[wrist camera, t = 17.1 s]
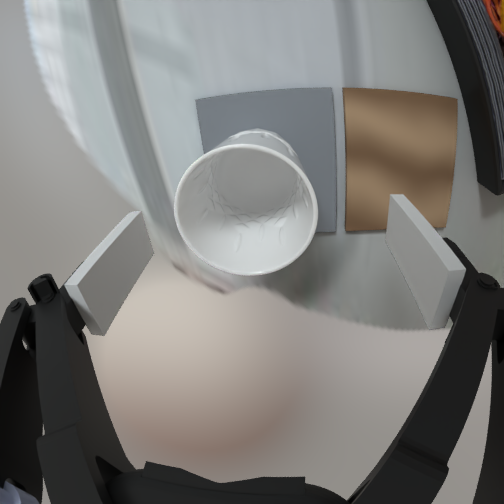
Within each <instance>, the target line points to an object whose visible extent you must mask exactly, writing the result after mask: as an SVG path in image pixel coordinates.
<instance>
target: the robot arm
mask: <svg viewBox="0 0 504 504" xmlns="http://www.w3.org/2000/svg"><path fill="white" fill-rule="evenodd" d="M385 242H386V244H387V246H388V248H389V249H390V251H391V253H392V255H393V257H394V259H395V261H396V262H397V264H398V266H399V268H400V270H401V272H402V274H403V276H404V278H405V280H406V282H407V284H408V286H409V288H410V290H411V292H412V294H413V296H414V298H415V301H416V303H417V305H418V307H419V309H420V311H421V314H422V316H423V318H424V320H425V323H426V325H427V327H428V329H429V330H433V329H439V328H445V326H446V324H447V321H448V319H449V316H450V317H451V319H452V321H453V326H452V328H451V330H450V333H449V335H448V337H447V339H446V341H445V345H444V347H443V350H442V352H441V354H440V357H439V359H438V361H437V363H436V365H435V367H434V369H433V371H432V373H431V376H430V378H429V380H428V382H427V384H426V385H425V387H424V389H423V391H422V393H421V395H420V397H419V399H418V400H417V402H416V404H415V406H414V408H413V409H412V411H411V413H410V415H409V416H408V418H407V420H406V422H405V423H404V425H403V426H402V428H401V430H400V431H399V433H398V434H397V436H396V437H395V439H394V440H393V442H392V443H391V445H390V446H389V448H388V449H387V451H386V452H385V454H384V455H383V456H382V458H381V459H380V461H379V462H378V463H377V465H376V466H375V467H374V469H373V470H372V471H371V473H370V474H369V475H368V476H367V477H366V479H365V480H364V481H363V482H362V483H361V485H360V486H359V487H358V488H357V489H356V491H355V492H354V493H353V494H352V495H351V496H350V498H349V499H348V500H347V501H346V500H345V499H344V498H342V497H341V496H339V495H338V494H336V493H334V492H332V491H330V490H327V489H325V488H322V487H319V486H316V485H311V484H306V483H305V477H260V478H254V479H248V480H242V481H235V482H227V483H217V482H213V481H211V480H208V479H205V478H203V477H200V476H198V475H195V474H193V473H190V472H188V471H186V470H183V469H181V468H176V467H170V466H165V465H161V464H156V463H152V462H147V461H146V463H145V467H144V469H137V470H136V469H135V468H134V467H133V465H132V464H131V463H130V462H129V460H128V459H127V457H126V455H125V453H124V451H123V448H122V446H121V444H120V441H119V439H118V437H117V434H116V432H115V429H114V427H113V424H112V421H111V419H110V416H109V413H108V411H107V408H106V405H105V402H104V399H103V396H102V393H101V390H100V387H99V384H98V381H97V377H96V374H95V370H94V367H93V363H92V360H91V356H90V353H89V349H88V345H87V340H86V336H85V335H84V333H83V331H82V329H83V328H84V326H85V325H86V326H87V328H88V329H89V331H90V332H91V334H93V335H102V336H104V335H105V334H106V332H107V330H108V329H109V327H110V325H111V323H112V321H113V320H114V318H115V316H116V315H117V313H118V311H119V309H120V308H121V306H122V304H123V303H124V301H125V299H126V298H127V296H128V294H129V293H130V291H131V289H132V288H133V286H134V284H135V283H136V281H137V280H138V278H139V276H140V275H141V273H142V272H143V270H144V268H145V267H146V265H147V264H148V262H149V261H150V259H151V258H152V256H153V254H154V251H153V248H152V245H151V241H150V238H149V235H148V232H147V228H146V225H145V221H144V218H143V214H142V211H135V212H130V213H129V214H128V215H127V216H126V217H125V218H124V219H123V220H122V221H121V222H120V223H119V224H118V225H117V226H116V227H115V228H114V229H113V230H112V231H111V232H110V233H109V234H108V235H107V236H106V238H105V239H104V240H103V241H102V242H101V243H100V244H99V245H98V246H97V247H96V248H95V249H94V251H93V252H92V253H91V254H90V255H89V256H88V257H87V258H86V260H85V261H83V262H82V263H81V264H80V265H79V266H78V268H77V270H75V271H74V272H73V273H72V275H71V276H70V277H69V278H68V279H67V281H66V282H65V283H64V284H63V286H62V287H61V288H60V289H58V287H57V285H56V283H55V281H54V279H53V277H52V275H51V274H43V275H41V276H39V277H37V278H35V279H34V280H33V281H32V282H31V283H30V285H29V286H28V290H29V292H30V294H31V296H32V298H33V299H34V301H35V302H36V305H31V306H29V304H28V303H27V301H26V299H25V298H18V299H15V300H14V301H12V302H11V303H10V305H9V306H8V307H7V309H6V311H5V314H4V316H3V319H2V321H1V323H0V504H41V502H42V491H43V478H44V481H45V485H46V488H47V492H48V496H49V499H50V502H51V504H431V503H432V502H433V500H434V498H435V497H436V495H437V493H438V491H439V490H440V488H441V486H442V485H443V483H444V481H445V479H446V477H447V474H448V471H449V468H448V466H447V463H448V460H449V458H450V456H451V454H452V452H453V450H454V448H455V446H456V443H457V441H458V439H459V437H460V434H461V432H462V430H463V428H464V425H465V423H466V420H467V418H468V415H469V413H470V410H471V408H472V405H473V402H474V399H475V396H476V393H477V391H478V387H479V384H480V381H481V378H482V375H483V371H484V368H485V364H486V361H487V357H488V352H489V349H490V345H491V346H492V387H491V405H490V416H489V425H488V433H487V441H486V447H485V453H484V459H483V464H482V468H481V473H480V477H479V481H478V485H477V489H476V493H475V497H474V500H473V504H504V288H500V285H499V283H498V282H497V280H495V279H494V278H493V277H492V276H490V275H488V274H484V273H478V272H477V270H476V269H475V268H474V266H473V265H472V264H471V262H470V261H469V260H468V259H467V257H465V255H464V254H463V252H461V250H460V249H459V247H458V246H457V245H456V244H455V243H454V242H452V241H451V240H449V239H448V238H441V236H440V235H439V234H438V233H437V231H436V230H435V229H434V228H433V227H432V226H431V224H430V223H429V222H428V221H427V220H426V219H425V218H424V216H423V215H422V214H421V213H420V212H419V211H418V210H417V209H416V207H415V206H414V205H413V204H412V203H411V202H410V201H409V200H408V199H407V198H406V197H405V196H404V195H403V194H390V200H389V212H388V222H387V231H386V240H385ZM22 339H23V341H24V342H25V343H26V345H27V349H25V347H24V345H23V341H22ZM491 343H492V344H491ZM43 424H44V430H45V435H43V436H42V432H43Z"/></svg>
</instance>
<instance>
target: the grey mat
mask: <svg viewBox="0 0 504 504" xmlns="http://www.w3.org/2000/svg"><path fill="white" fill-rule="evenodd" d="M195 101H196V107H197V114H198V120H199V126H200V133H201V139H202V145H203V151H204V154H205V153H207V152H208V151H210V150H211V149H212V148H214V147H215V146H216V145H218V144H219V143H221V142H222V141H224V140H225V139H227V138H229V137H231V136H233V135H235V134H237V133H238V132H241V131H245V130H250V129H255V128H260V129H264V130H268V131H272V132H276V133H277V134H278V135H280V136H281V137H282V138H283V139H284V140H286V141H287V142H288V143H289V144H290V145H291V147H292V149H293V150H294V151H295V153H296V154H297V156H298V158H299V159H300V161H301V163H302V165H303V167H304V169H305V172H306V174H307V176H308V178H309V181H310V183H311V185H312V187H313V189H314V192H315V195H316V199H317V204H318V222H317V227H316V230H315V232H334V231H336V158H335V131H334V112H333V98H332V88H296V89H279V90H266V91H256V92H246V93H238V94H230V95H223V96H216V97H210V98H203V99H198V100H195Z"/></svg>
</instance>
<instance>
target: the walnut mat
mask: <svg viewBox="0 0 504 504" xmlns="http://www.w3.org/2000/svg"><path fill="white" fill-rule="evenodd" d="M342 89H343V104H344V122H345V153H346V203H345V230H346V231H356V230H381V229H387V222H388V212H389V200H390V194H403V195H404V196H405V197H406V198H407V199H408V200H409V201H410V202H411V203H412V204H413V205H414V206H415V207H416V209H417V210H418V211H419V212H420V213H421V214H422V215H423V216H424V218H425V219H426V220H427V221H428V222H429V223H430V224H431V226H432V227H433V228H440V227H446V222H447V217H448V211H449V205H450V199H451V192H452V184H453V176H454V166H455V155H456V141H457V99H455V98H450V97H444V96H438V95H431V94H424V93H416V92H407V91H396V90H384V89H368V88H342Z"/></svg>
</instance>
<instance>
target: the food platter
mask: <svg viewBox="0 0 504 504" xmlns="http://www.w3.org/2000/svg"><path fill="white" fill-rule="evenodd" d="M427 2H428V4H429V6H430V9H431V11H432V13H433V15H434V17H435V19H436V22H437V24H438V26H439V29H440V31H441V34H442V36H443V39H444V41H445V44H446V46H447V49H448V52H449V55H450V57H451V60H452V63H453V66H454V69H455V72H456V76H457V79H458V82H459V86H460V89H461V93H462V97H463V101H464V105H465V109H466V113H467V118H468V122H469V127H470V132H471V138H472V143H473V149H474V156H475V163H476V171H477V180H478V183H480V184H481V185H483V186H484V187H486V188H487V189H488V190H490V191H491V192H492V193H494V194H495V195H501V194H503V193H504V0H427ZM501 33H502V34H501Z"/></svg>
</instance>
